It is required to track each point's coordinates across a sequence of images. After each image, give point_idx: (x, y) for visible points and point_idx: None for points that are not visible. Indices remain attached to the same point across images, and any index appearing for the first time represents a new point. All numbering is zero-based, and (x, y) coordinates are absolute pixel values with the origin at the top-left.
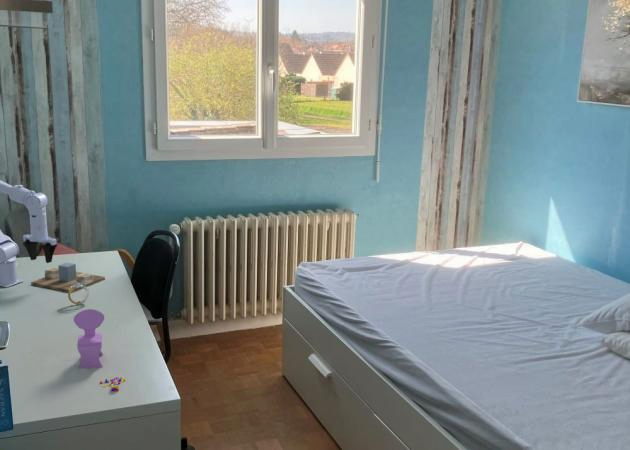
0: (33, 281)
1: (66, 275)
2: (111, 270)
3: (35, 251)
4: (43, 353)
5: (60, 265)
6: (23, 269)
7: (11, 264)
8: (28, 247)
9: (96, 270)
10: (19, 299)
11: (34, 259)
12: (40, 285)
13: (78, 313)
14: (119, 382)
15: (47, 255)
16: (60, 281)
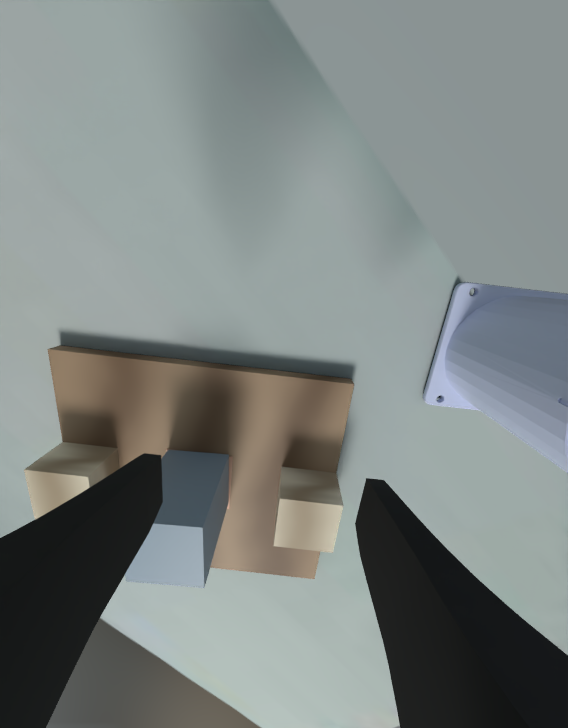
0: (349, 398)
1: (163, 474)
2: (156, 625)
3: (385, 620)
4: None
5: (188, 531)
6: (531, 544)
7: (564, 386)
8: (488, 672)
9: (210, 611)
10: (233, 118)
11: (360, 504)
12: (282, 373)
13: None
14: None
15: (43, 521)
16: (212, 444)
